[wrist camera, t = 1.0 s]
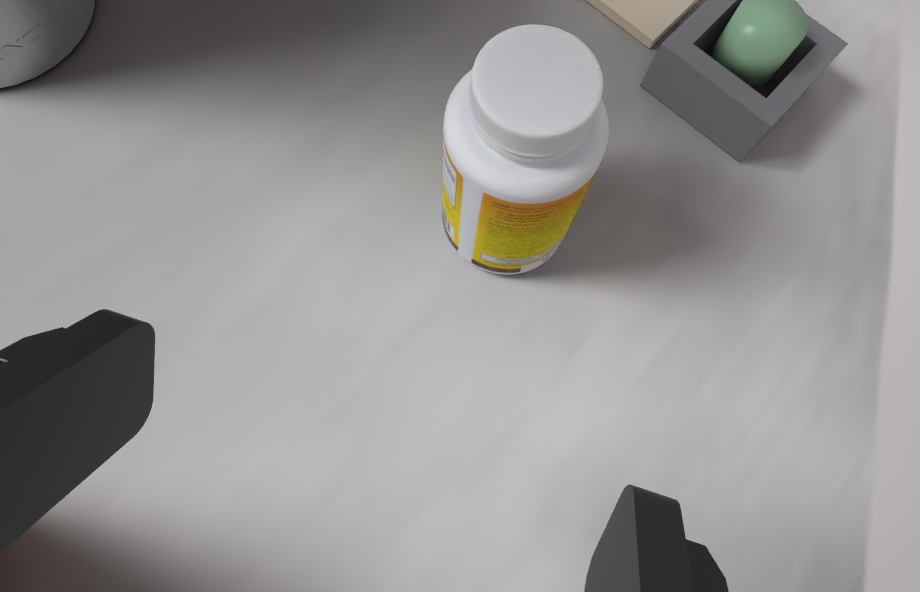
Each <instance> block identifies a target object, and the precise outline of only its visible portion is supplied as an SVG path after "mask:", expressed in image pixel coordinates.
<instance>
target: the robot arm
mask: <svg viewBox="0 0 920 592" xmlns="http://www.w3.org/2000/svg"><path fill="white" fill-rule="evenodd" d="M94 6H95V0H0V88H3V87H8V86H13V85H17V84H19V83H22V82H24V81H27V80H30V79H32V78H35V77H37V76H39V75H40V74H42V73H44V72H45V71H47V70H49V69H50V68H52V67H54V66H55V65H57V64H58V63H59V62H60V61H61V60H62V59H64V58H65V57H66V56H67V55H68V54H69V53H71V51H72V50H73V49H74V48H75V46H76V45H77V44H78V43H79V41H80V40H81V39H82V38H83V36H84V34H85V32H86V30H87V28H88V26H89V24H90V22H91V19H92V15H93V11H94ZM154 356H155V332H154V329H153V327H152V326H151V325H150V324H149V323H146V322H143V321H140V320H137V319H134V318H131V317H128V316H125V315H122V314H119V313H116V312H113V311H110V310H107V309H103V310H99V311H97V312H95V313H93V314H91V315H89V316H88V317H86V318H84V319H82V320H80V321H79V322H77V323H75V324H73V325H71V326H70V327H68V328H66V329H65V328H63V327H62V328H58V329H54V330H51V331H47V332H43V333H39V334H36V335H32V336H28V337H25V338H23V339H21V340H19V341H17V342H15V343H13V344H11V345H10V346H8V347H6V348H4V349H2V350H0V553H1V552H2V551H3V550H4V549H5V548H7V547H8V546H9V545H10V544H11V543H12V542H13V541H15V540H16V539H17V538H18V537H19V536H20V535H22V534H23V533H24V532H25V531H26V530H27V529H28V528H30V527H31V526H32V525H33V524H34V523H35V522H36V521H38V520H39V519H40V518H41V517H42V516H43V515H44V514H46V513H47V512H48V511H49V510H50V509H51V508H52V507H54V506H55V505H56V504H57V503H58V502H59V501H61V500H62V499H63V498H64V497H65V496H66V495H67V494H69V493H70V492H71V491H72V490H73V489H74V488H75V487H77V486H78V485H79V484H80V483H81V482H82V481H83V480H85V479H86V478H87V477H88V476H89V475H90V474H91V473H93V472H94V471H95V470H96V469H97V468H98V467H100V466H101V465H102V464H103V463H104V462H105V461H106V460H108V459H109V458H110V457H111V456H112V455H113V454H114V453H116V452H117V451H118V450H119V449H120V448H121V447H122V446H124V445H125V444H126V443H127V442H128V441H129V440H130V439H132V438H133V437H134V436H135V435H136V434H137V433H138V432H139V430H140V429H141V428H142V426H143V425H144V423H145V422H146V420H147V418H148V416H149V413H150V411H151V407H152V403H153V388H154ZM585 592H728V587H727V583H726V579H725V577H724V575H723V574H722V572H721V570H720V569H719V567H718V566H717V564H716V562H715V561H714V559H713V558H712V556H711V554H710V553H709V551H708V549H707V548H706V546H704V545H701V544H698V543H695V542H692V541H689V540H686V538H685V532H684V526H683V520H682V514H681V508H680V504H679V502H678V501H677V500H675V499H672V498H669V497H666V496H663V495H660V494H657V493H654V492H651V491H648V490H645V489H642V488H639V487H636V486H633V485H627V486H626V487H625V489H624V490H623V492H622V494H621V496H620V498H619V500H618V502H617V504H616V506H615V509H614V511H613V513H612V515H611V517H610V519H609V522H608V524H607V526H606V528H605V530H604V532H603V534H602V537H601V539H600V541H599V543H598V545H597V547H596V549H595V552H594V554H593V557H592V559H591V563H590V566H589V570H588V574H587V579H586V585H585Z"/></svg>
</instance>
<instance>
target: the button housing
mask: <svg viewBox="0 0 920 592" xmlns="http://www.w3.org/2000/svg"><path fill="white" fill-rule="evenodd" d="M742 1H743V0H706V1H705V2H704V3H703V4H702V5H701V6H700V7H699V8H698V9H697V10H696V11H695V12H693V13H692V14H691V15H690V16H689V17H688V18H687V19H686V20H685V21H684V22H683V23H682V24H681V25H680V26H679V27H678V28H677V29H676V30H675V31H674V32H673V33H672V34H671V35H670V36H669V37H668V38H667V39H666V40H665V41H664V42H663V43H662V44H661V46H660V47H659V49H658V51H657V53H656V55H655V57H654V59H653V61H652V63H651V65H650V67H649V69H648V71H647V73H646V75H645V77H644V79H643V81H642V83H641V86H642V87H643V88H644V89H646V90H647V91H648V92H650V93H651V94H652V95H653V96H655V97H656V98H657V99H659V100H660V101H661V102H662V103H664V104H665V105H666V106H668V107H669V108H670V109H671V110H673V111H674V112H675V113H677V114H678V115H679V116H680V117H682V118H683V119H684V120H686V121H687V122H688V123H689V124H691V125H692V126H693V127H695V128H696V129H697V130H698V131H700V132H701V133H702V134H704V135H705V136H706V137H707V138H709V139H710V140H711V141H713V142H714V143H715V144H716V145H718V146H719V147H720V148H722V149H723V150H724V151H725V152H727V153H728V154H729V155H731V156H732V157H733V158H734V159H736V160H737V161H738V162H740V161H741V160H742V159H743V158H744V157H745V156H746V155H747V153H748V152H749V151H750V150H751V149H752V148H753V147H754V146H755V145H756V144H757V143H758V142H759V141H760V140H761V138H762V137H763V136H764V135H765V134H766V133H767V132H768V131H769V130H770V129H771V128H772V127H773V125H774V124H775V123H776V122H777V121H778V120H779V119H780V118H781V117H782V116H783V115H784V113H785V112H786V111H787V110H788V109H789V108H790V107H791V106H792V105H793V104H794V102H795V101H796V100H797V99H798V98H799V97H800V96H801V95H802V94H803V93H804V91H805V90H806V89H807V88H808V87H809V86H810V85H811V84H812V83H813V82H814V80H815V79H816V78H817V77H818V76H819V75H820V74H821V73H822V72H823V71H824V69H825V68H826V67H827V66H828V65H829V64H830V63H831V62H832V61H833V60H834V58H835V57H836V56H837V55H838V54H839V53H840V52H841V51H842V50H843V49H844V47H845V46H846V45H847V44H848V43H846V42H845V41H843V40H842V39H841V38H839V37H838V36H836V35H835V34H833V33H832V32H831V31H829V30H828V29H826V28H825V27H824V26H822V25H821V24H819V23H818V22H817V21H815V20H814V19H812V18H811V17H809V16H808V15H807V14H805V15H806V17H807V21H808V29H807V33H806V35H805V37H804V38H803V40H802V41H801V42H800V43H799V45H798V46H797V47H796V48H795V50H794V51H793V52H792V53H791V54H790V56H789V57H788V58H787V59H786V61H785V62H784V63H783V64H782V65H781V67H780V68H779V69H778V70H777V72H776V73H775V74H774V75H773V77H772V78H773V79H774V80H776V81H777V82H778V83H780V84H779V85H778V86H777V87H776V89H775V90H774V91H773V92H772V93H771V94H770V95H769V96H768V97H767V98H765V97H764V96H762V95H761V94H760V93H758V92H757V91H756V90H754V89H753V88H752V87H750V86H749V85H748V84H746V83H745V82H744V81H742V80H741V79H740V78H738V77H737V76H736V75H734V74H733V73H732V72H730V71H729V70H728V69H726V68H725V67H724V66H722V65H721V64H720V63H718V62H717V61H716V60H714V59H713V58H712V57H710V56H709V55H708V54H706V53H705V52H703V51H704V50H705V49H706V48H707V47H708V46H709V45H710V44H711V43H712V42H713V41H714V40H715V39H716V38H719V37H720V35H721V34H722V32H723V31H724V29H725V27H726V26H727V24H728V23H729V21H730V19H731V18H732V16H733V15H734V13H735V11H736V10H737V8H738V7H739V5H740V3H741V2H742Z"/></svg>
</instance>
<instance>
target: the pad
mask: <svg viewBox="0 0 920 592" xmlns="http://www.w3.org/2000/svg"><path fill="white" fill-rule="evenodd" d="M586 1H587V2H589V3H590V4H591V5H593V6H594V7H595V8H597V9H598V10H599V11H600V12H602V13H603V14H604V15H606V16H607V17H608V18H610V19H611V20H612V21H614V22H615V23H616V24H618V25H619V26H620V27H621V28H623V29H624V30H625V31H627V32H628V33H629V34H631V35H632V36H633V37H635V38H636V39H637V40H639V41H640V42H641V43H642V44H644V45H645V46H646V47H648V48H649V49H650V48H651V47H652V46H653V45H654V44H655V43H656V42H657V41H658V40H659V39H660V38H661V37H662V36H663V35H664V34H665V33H666V32H667V31H668V30H670V29H671V28H672V27H673V26H674V25H675V24H676V23H677V22H678V21H679V20H680V19H681V18H682V17H683V16H684V15H685V14H686V13H687V12H688V11H689V10H690V9H691V8H692V7H693V6H694V5H695V4H696V3H697V2H698V1H700V0H586Z"/></svg>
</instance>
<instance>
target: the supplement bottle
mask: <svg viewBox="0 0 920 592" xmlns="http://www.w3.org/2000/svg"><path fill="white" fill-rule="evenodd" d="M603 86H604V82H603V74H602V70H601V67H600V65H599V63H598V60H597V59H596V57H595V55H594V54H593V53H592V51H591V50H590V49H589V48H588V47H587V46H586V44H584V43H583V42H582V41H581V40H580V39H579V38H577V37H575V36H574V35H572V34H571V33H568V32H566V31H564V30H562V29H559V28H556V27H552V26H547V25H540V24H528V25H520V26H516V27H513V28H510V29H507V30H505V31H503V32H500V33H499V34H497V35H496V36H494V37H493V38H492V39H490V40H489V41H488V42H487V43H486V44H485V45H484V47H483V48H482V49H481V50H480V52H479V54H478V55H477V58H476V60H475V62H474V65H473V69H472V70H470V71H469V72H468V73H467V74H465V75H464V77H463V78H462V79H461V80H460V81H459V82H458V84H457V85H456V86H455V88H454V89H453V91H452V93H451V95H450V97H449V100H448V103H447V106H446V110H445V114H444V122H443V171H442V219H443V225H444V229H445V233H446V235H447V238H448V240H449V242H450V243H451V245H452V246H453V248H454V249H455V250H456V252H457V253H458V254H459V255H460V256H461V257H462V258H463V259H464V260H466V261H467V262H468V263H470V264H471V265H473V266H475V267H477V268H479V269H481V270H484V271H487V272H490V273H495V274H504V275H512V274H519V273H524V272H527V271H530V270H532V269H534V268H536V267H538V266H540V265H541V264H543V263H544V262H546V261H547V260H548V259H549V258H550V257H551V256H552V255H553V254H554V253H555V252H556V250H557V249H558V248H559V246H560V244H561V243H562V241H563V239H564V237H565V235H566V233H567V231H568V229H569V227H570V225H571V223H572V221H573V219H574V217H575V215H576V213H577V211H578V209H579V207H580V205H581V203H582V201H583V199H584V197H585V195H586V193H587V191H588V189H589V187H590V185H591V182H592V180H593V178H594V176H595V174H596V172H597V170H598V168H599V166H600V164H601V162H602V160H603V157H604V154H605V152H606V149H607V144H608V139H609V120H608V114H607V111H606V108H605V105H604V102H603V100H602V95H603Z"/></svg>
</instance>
